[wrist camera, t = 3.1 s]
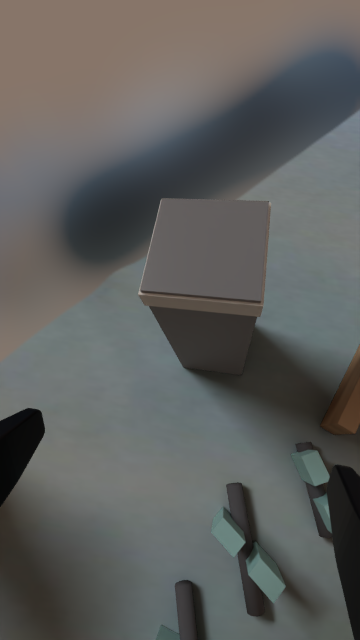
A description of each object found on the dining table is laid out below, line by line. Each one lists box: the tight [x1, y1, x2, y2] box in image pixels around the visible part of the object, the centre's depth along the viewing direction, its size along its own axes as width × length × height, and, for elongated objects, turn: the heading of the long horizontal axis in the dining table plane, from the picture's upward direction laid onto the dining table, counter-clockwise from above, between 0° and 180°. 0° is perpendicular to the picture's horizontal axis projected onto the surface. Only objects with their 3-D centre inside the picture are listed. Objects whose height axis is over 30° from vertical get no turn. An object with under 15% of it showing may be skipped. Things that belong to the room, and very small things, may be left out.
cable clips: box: [156, 450, 332, 640], centre depth 17 cm, size 6×14×3 cm, turn 137°
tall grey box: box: [138, 198, 271, 375], centre depth 18 cm, size 5×5×13 cm
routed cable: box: [175, 442, 332, 640], centre depth 17 cm, size 13×10×1 cm
